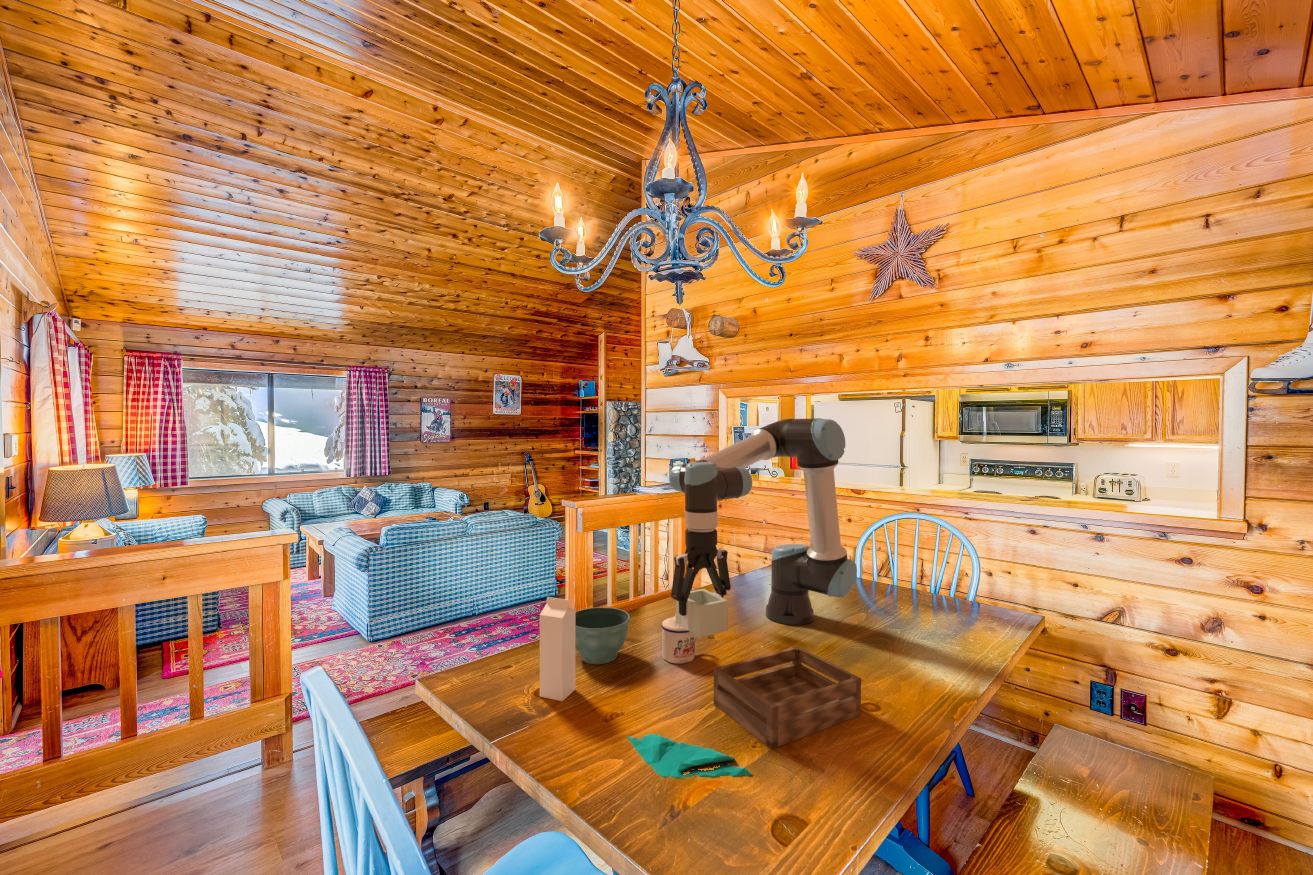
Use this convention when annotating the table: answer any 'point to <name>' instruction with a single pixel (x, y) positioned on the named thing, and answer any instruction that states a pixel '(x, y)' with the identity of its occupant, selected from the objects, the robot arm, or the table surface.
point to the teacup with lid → (677, 642)
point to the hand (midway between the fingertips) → (701, 624)
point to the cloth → (682, 758)
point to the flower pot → (600, 633)
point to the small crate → (706, 613)
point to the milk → (557, 649)
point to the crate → (786, 695)
